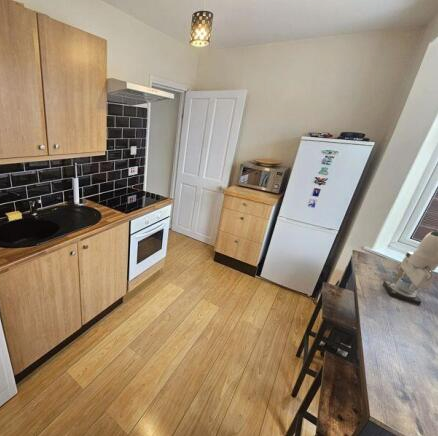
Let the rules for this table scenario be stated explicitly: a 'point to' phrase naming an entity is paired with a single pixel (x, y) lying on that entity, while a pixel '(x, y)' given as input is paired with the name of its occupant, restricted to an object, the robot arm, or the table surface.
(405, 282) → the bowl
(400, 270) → the flower pot
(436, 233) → the robot arm
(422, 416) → the table surface
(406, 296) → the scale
